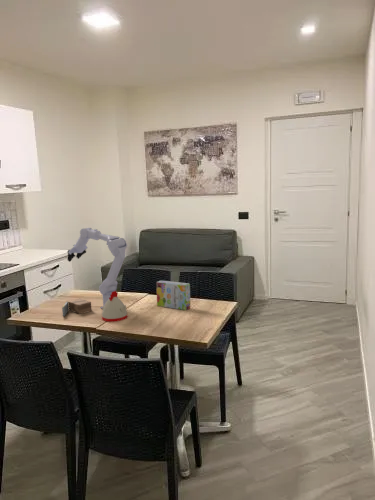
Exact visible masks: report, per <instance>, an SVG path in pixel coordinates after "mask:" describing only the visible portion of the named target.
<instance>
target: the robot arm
mask: <svg viewBox="0 0 375 500" xmlns="http://www.w3.org/2000/svg"><path fill="white" fill-rule="evenodd" d="M90 239H92V240H94V241H99V240H101V241H104V242H106V245H107V248H108V249H109V251H110V253H111V255H112V256H113V257H114V258H113V260H112V263H111V265H110V268H109V271H108V273H107V275H106V278H105V279H103V281H102V283H101V284H99V287H98V290H99V292H100V294H101V296H102V306H100V309H102V307H104V305H105V303H106V302H107V300H108V299H109V297H110V295H112V292H113V291H116V292H117V289H118V281H117V278H118V276H119V273H120V271H121V268H122V266H123V263H124V261H125V259H126V249H127V248H128V243H127V241H126V240H125V238H123V237H120V236H118V235H111V234H106V233H102V232H101V231H100V230H98V229H96V228H95V229H93V228H92V227H85V228H84V227H83V228H81V229H80V231H79V237H78V239H77V240H76V243H75V244H73V245H72V246H73V247H72V248H70V249H68V250H67V261H68V262H69V263H70V262H71V261H72V260H73V259H74V258H76V259H80V258H81V257H83V255H84V254H86V253H87V249H88V246H87V244H88V242H89V240H90ZM110 298H111V297H110ZM117 298H119V296H117Z"/></svg>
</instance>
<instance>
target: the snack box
mask: <svg viewBox="0 0 375 500" xmlns="http://www.w3.org/2000/svg"><path fill="white" fill-rule="evenodd" d="M155 285H156V306H157V307H164V308H170V309H176V310H182V311H187V310H190V309H191V284H190V283H189V282H187V283H186V282H179V281H172V280H171V281H169V280H159V281H156V282H155Z"/></svg>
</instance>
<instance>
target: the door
mask: <svg viewBox="0 0 375 500" xmlns="http://www.w3.org/2000/svg"><path fill="white" fill-rule="evenodd" d="M61 310H62V316H63V317H66V315H67V313H68V311H70V310H69V303H68V301H65V303H64V304H63V306H62V307H61Z"/></svg>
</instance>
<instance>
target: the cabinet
mask: <svg viewBox="0 0 375 500" xmlns="http://www.w3.org/2000/svg"><path fill="white" fill-rule="evenodd" d="M67 302H68V306H69V310H68V311H70V310H72V311H71V312H73V311H74V312H73V313H75V314H79V315H81V314H85V313H87V312H91V311H92V302H91V301H89V300H86V299H82V298H77V299H73V300H69V301H67ZM84 312H85V313H84Z"/></svg>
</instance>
